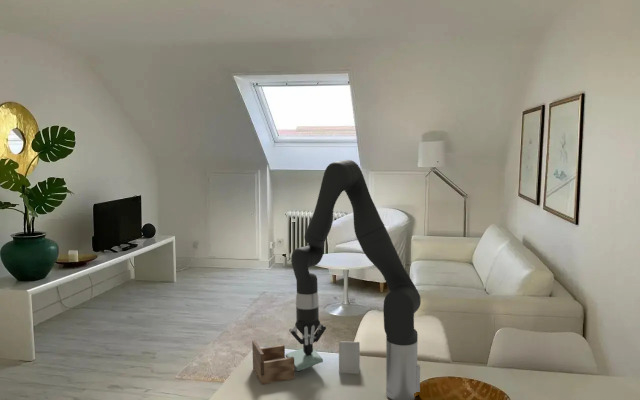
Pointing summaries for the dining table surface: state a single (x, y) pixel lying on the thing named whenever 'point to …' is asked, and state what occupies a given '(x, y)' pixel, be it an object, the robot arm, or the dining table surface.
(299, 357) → the panel
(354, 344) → the grey wedge block
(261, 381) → the brown wooden open box
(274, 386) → the dining table surface
